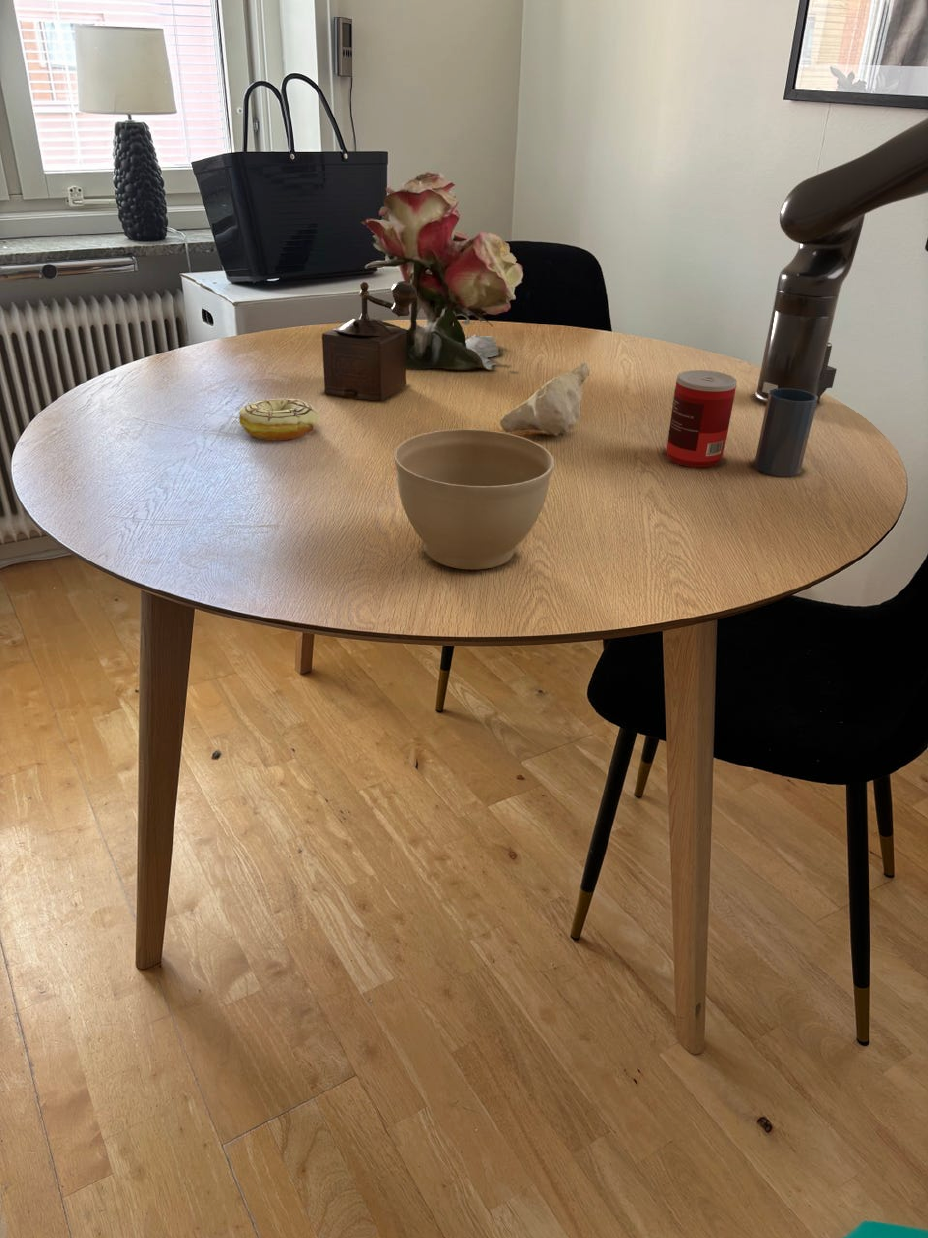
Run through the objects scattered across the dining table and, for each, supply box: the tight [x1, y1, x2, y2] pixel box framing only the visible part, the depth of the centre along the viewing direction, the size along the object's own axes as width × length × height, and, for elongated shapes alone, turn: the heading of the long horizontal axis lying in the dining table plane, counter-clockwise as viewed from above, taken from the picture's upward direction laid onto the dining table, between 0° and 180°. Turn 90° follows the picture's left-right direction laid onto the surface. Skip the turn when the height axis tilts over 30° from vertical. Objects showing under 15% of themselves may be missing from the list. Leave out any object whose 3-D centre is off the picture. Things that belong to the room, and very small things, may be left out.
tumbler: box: [753, 388, 818, 478], centre depth 119 cm, size 6×6×10 cm
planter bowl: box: [393, 428, 555, 570], centre depth 94 cm, size 16×16×11 cm
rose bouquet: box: [360, 171, 524, 371], centre depth 160 cm, size 26×29×30 cm
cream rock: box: [498, 362, 591, 437], centre depth 131 cm, size 15×7×15 cm
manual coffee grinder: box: [321, 280, 417, 402], centre depth 141 cm, size 16×11×18 cm
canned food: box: [665, 369, 737, 468], centre depth 121 cm, size 8×8×11 cm
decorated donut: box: [238, 398, 319, 442], centre depth 127 cm, size 10×11×4 cm
